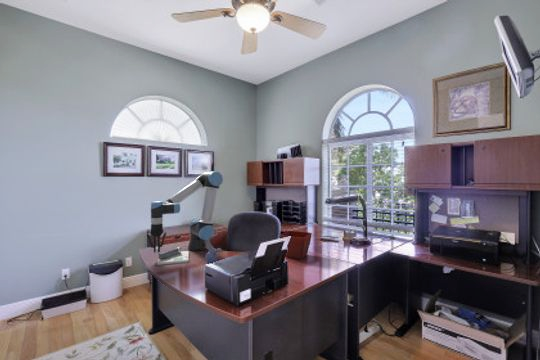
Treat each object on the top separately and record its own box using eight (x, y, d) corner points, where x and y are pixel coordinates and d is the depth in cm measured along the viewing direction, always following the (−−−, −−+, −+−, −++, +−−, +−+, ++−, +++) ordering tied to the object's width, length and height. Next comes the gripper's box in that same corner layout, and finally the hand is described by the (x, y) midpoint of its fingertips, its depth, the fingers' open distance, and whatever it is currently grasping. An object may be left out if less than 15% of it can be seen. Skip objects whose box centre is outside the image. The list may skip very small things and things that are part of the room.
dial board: (188, 252, 199) (188, 250, 199) (188, 262, 178) (188, 259, 178) (160, 255, 193) (160, 252, 193) (157, 264, 172) (157, 262, 172)
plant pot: (289, 250, 206) (289, 230, 205) (311, 254, 197) (312, 232, 197) (279, 257, 189) (279, 235, 188) (304, 261, 180) (304, 238, 180)
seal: (219, 266, 170) (219, 236, 170) (202, 264, 173) (203, 235, 173) (225, 262, 178) (225, 233, 178) (209, 260, 181) (209, 232, 181)
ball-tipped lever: (178, 252, 194) (178, 246, 194) (182, 253, 192) (182, 247, 192) (158, 259, 177) (158, 253, 177) (161, 260, 175) (161, 254, 175)
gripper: (145, 224, 172) (145, 259, 173) (166, 223, 176) (166, 257, 177) (147, 222, 180) (147, 256, 180) (167, 221, 183) (167, 254, 184)
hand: (157, 256), depth 178 cm, fingers closed
